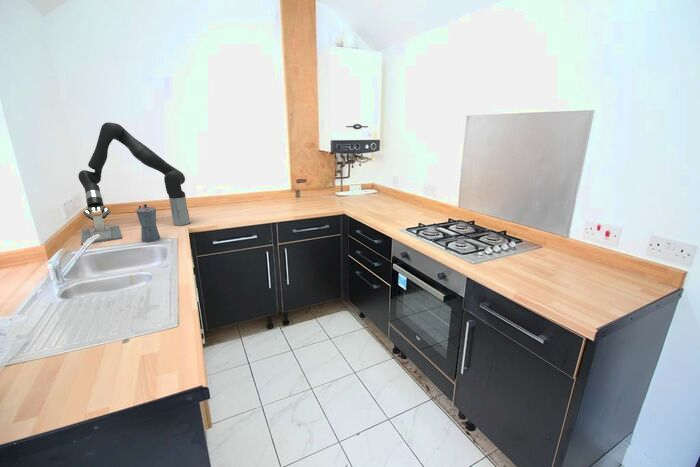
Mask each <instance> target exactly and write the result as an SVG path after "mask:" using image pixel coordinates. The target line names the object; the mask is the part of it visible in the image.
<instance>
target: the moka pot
mask: <svg viewBox="0 0 700 467" xmlns="http://www.w3.org/2000/svg"><path fill="white" fill-rule="evenodd" d="M135 210H136V212H135V213H136V215H137V217H138V218H137V219H138V221H139V224H140V228H141V231H140V232H141V233H140V234H141V235H140V236H141V238H140V239H141V241H142V242H145V243H153V242H157V241H158V240H159V241H160V239H161V236H160V233H159V230H158V226H157V209H156V207H153V206H148V205H147V204H146V203H145V204H143V206H141V205H139V206H138V208H137V209H135Z"/></svg>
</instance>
